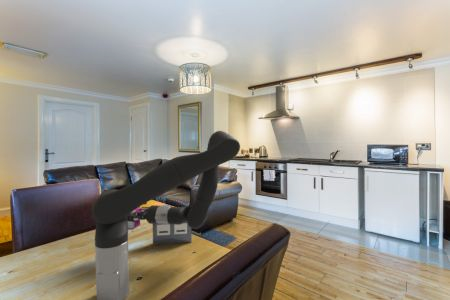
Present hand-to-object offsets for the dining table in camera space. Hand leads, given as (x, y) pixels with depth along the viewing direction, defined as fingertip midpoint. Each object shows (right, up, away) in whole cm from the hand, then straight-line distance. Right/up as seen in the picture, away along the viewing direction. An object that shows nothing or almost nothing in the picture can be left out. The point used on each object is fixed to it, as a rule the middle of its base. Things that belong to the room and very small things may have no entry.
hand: (125, 213), depth 99 cm
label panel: (+18, -17, +10) cm, 27 cm away
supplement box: (+3, -6, 0) cm, 7 cm away
